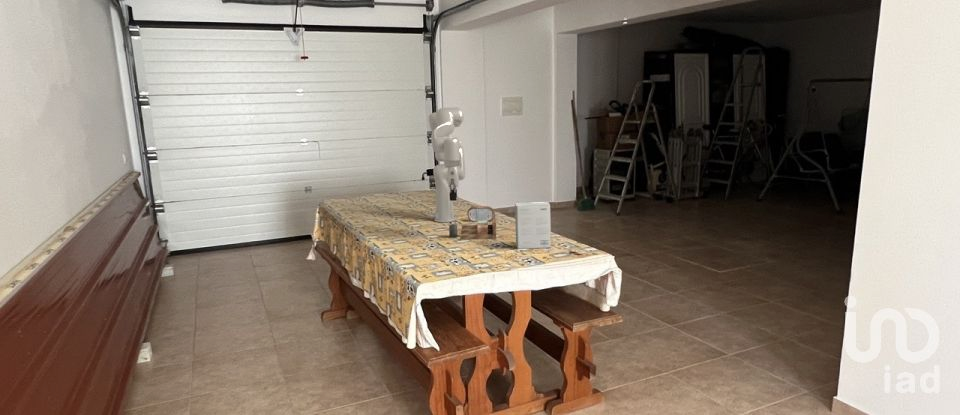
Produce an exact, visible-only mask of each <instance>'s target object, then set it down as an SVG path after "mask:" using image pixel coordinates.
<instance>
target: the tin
mask: <svg viewBox="0 0 960 415" xmlns="http://www.w3.org/2000/svg"><path fill="white" fill-rule="evenodd" d="M492 213H495V214H496V212H495V211H494V208H493V207H491V206H488V205H487V206H485V205H483V206H482V205H475V206H474V205H473V206H471V207H470V208H469V209H467V214H466V216H467V218H468V219H469V221H471V222H473V223H474V222H475V223H476V222H477V223H478V221H489V222H491V221H492Z"/></svg>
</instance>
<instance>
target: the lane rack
mask: <svg viewBox="0 0 960 415" xmlns="http://www.w3.org/2000/svg"><path fill="white" fill-rule="evenodd" d="M491 221H492V222H491V223H492V224H488V235H478V228H477V227H478V224H465V225H461V230H460V234H459V235H460V237H459V240H460V241H461V240H462V241H463V240H467V241H468V240H496V239H497V220H496V212H495V213H492V220H491ZM490 228H492V229H490Z"/></svg>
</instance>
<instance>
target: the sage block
mask: <svg viewBox="0 0 960 415" xmlns="http://www.w3.org/2000/svg"><path fill="white" fill-rule="evenodd" d="M477 225H489V224H488V221H478V222H477Z"/></svg>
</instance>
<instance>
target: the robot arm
mask: <svg viewBox="0 0 960 415" xmlns="http://www.w3.org/2000/svg"><path fill="white" fill-rule="evenodd" d="M463 122H464V111H463V110H462V109H461V108H460V107H441V108H438V109H437V110H436V111H435V112H432V113H430V114H429V115H428V125H429V128H430V131H431V136H430V137H431V138H430V141H431V147H432V150H433V151H434V152H433V153H434V156H435V157H434V158H435V160H436V161H437V162H444V163H441V164H437V165H434V167H433V178H434V183H435V201H436V202H435V203H436V211H435V212H434V213H430V212H429V213H428V218H429V217H430V218H433V219H434V222H437V223H451V222H455V221H457V217H456V216H455V213H454V212H455V208H454V202H455V201H457V197H458V189H457V188H459V186H460V181H463V180H465V177H466V167H465V166H466V165H465V153H464V152H465V151H464V148H463V145H462V141H461V140H460V138H459V137H458V136H457V137H456V136H450V135H452V133H454V131H455V128H459V127H460V126H461V125H462V124H463Z"/></svg>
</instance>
